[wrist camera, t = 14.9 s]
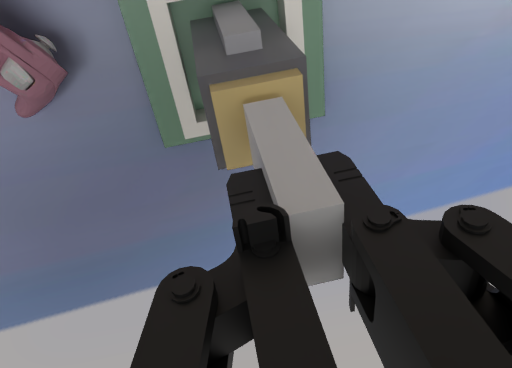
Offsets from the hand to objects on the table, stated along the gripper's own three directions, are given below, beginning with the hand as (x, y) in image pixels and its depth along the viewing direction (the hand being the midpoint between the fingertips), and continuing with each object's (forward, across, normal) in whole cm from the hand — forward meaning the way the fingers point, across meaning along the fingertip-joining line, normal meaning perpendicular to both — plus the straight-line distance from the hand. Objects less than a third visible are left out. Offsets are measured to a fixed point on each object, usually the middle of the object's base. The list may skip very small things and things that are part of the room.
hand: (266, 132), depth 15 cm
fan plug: (+12, 0, 0) cm, 12 cm away
